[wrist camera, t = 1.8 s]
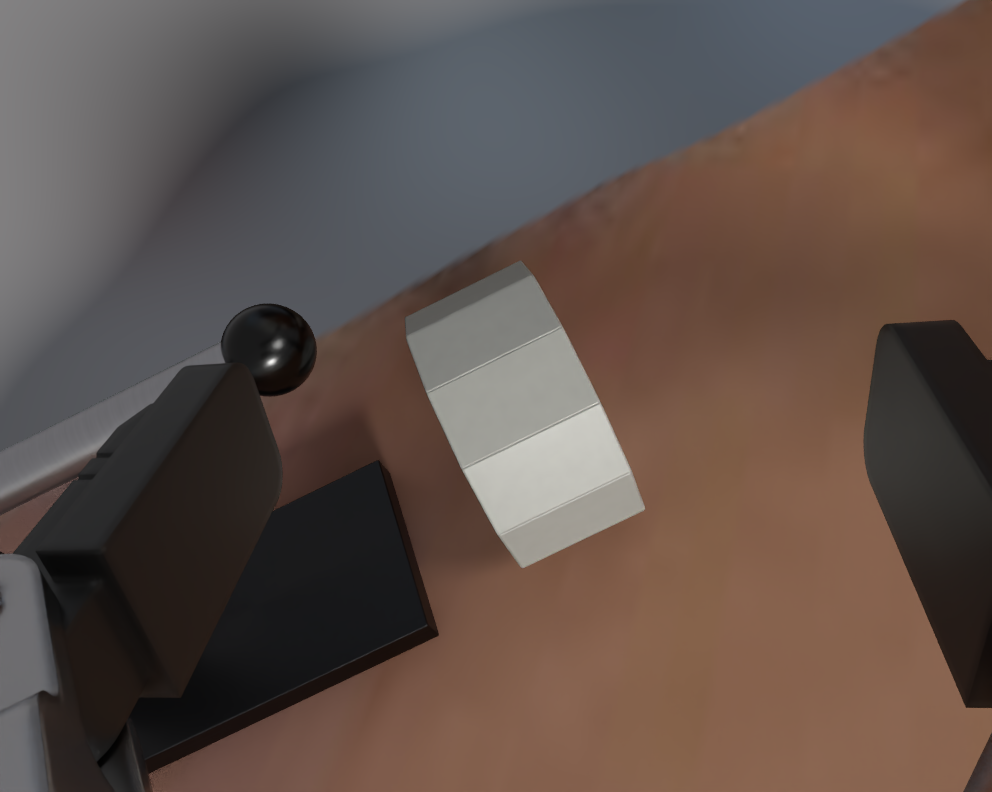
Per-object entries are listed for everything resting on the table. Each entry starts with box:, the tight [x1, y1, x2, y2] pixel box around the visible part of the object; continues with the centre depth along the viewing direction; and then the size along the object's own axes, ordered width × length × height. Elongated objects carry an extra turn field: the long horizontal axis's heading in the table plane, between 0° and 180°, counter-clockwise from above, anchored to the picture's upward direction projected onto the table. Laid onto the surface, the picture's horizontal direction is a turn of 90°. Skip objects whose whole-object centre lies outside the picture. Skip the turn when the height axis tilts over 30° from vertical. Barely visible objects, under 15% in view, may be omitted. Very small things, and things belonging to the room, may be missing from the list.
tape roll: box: [405, 261, 645, 568], centre depth 29 cm, size 5×10×10 cm, turn 20°
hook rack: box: [0, 304, 438, 774], centre depth 27 cm, size 16×8×16 cm, turn 109°
